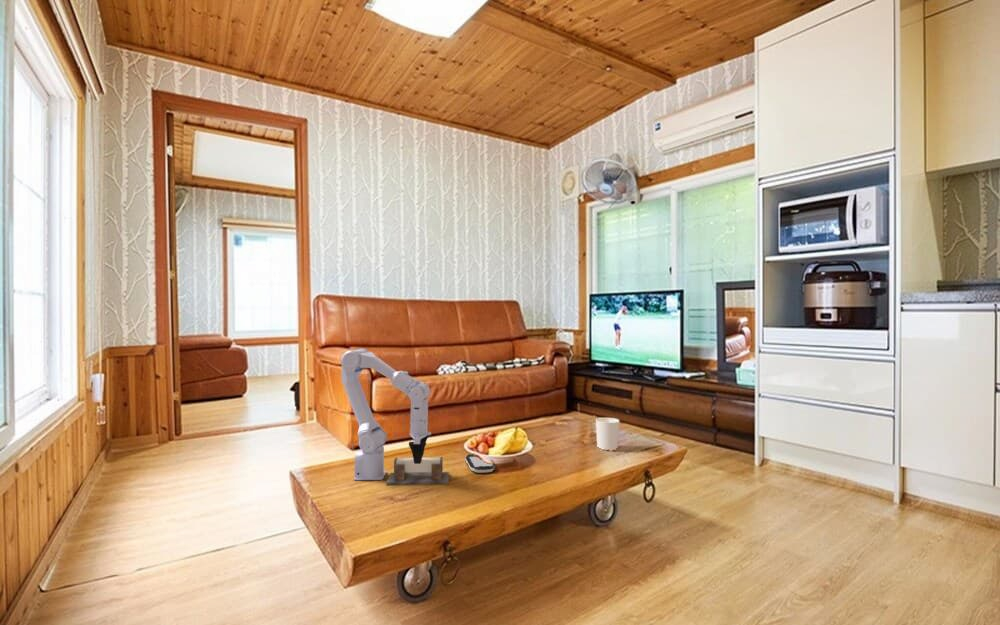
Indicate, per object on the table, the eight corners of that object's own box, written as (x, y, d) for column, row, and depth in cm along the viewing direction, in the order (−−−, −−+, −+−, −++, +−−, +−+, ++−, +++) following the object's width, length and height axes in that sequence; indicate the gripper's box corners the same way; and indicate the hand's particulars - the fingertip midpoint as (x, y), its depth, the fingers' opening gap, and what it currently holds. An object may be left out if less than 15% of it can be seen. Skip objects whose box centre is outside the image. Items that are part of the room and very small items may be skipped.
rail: (393, 472, 157) (394, 460, 157) (395, 469, 160) (395, 457, 160) (442, 471, 158) (442, 459, 158) (442, 468, 162) (442, 457, 162)
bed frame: (386, 485, 154) (386, 466, 154) (390, 475, 163) (390, 458, 163) (448, 483, 156) (448, 465, 156) (448, 474, 165) (449, 457, 165)
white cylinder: (592, 445, 202) (592, 417, 202) (614, 445, 203) (614, 417, 203) (599, 452, 192) (599, 422, 192) (622, 451, 194) (623, 422, 194)
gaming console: (463, 459, 183) (463, 453, 183) (486, 458, 185) (486, 451, 185) (472, 476, 164) (472, 469, 164) (497, 474, 166) (497, 467, 166)
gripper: (429, 424, 152) (429, 466, 153) (432, 414, 167) (432, 453, 167) (407, 424, 152) (406, 466, 152) (412, 414, 166) (412, 453, 166)
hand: (418, 459), depth 159 cm, fingers open, 7 cm apart
